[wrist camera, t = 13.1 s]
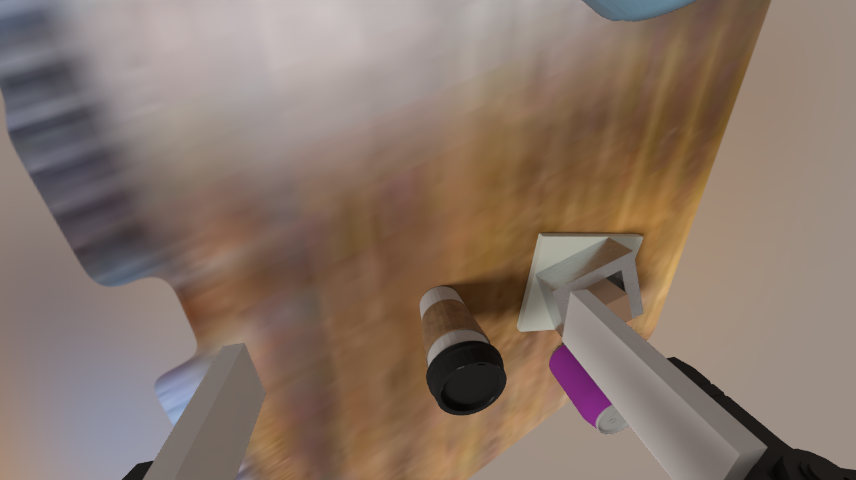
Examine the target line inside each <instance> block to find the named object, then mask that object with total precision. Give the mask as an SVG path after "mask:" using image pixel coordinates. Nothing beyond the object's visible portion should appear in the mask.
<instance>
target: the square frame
mask: <svg viewBox="0 0 856 480" xmlns="http://www.w3.org/2000/svg"><path fill="white" fill-rule="evenodd" d="M535 276H536V278H537V281H538V284H539V287H540V290H541V292H542V295H543V298H544V301H545V304H546V306H547V309H548V312H549V315H550V317H551V320H552V323H553V326H554V328H555V330H556V331H557V332H558V333H559V334H560V336H561V337H563V331H564V326H565V320H566V315H567V309H568V303H569V298H570V292H572V291H578V290H582V289H584V288H586V287H588V286H590V285H592V284H594V283H596V282H598V281H600V280H602V279H604V278H606V279H608V280H609V281H610V282H612V283H613V284H614V285H616V286H617V287H619V288H620V289H621V290H623V291H624V292H626V293H627V294H628V298H629V303H630V309H631V314H632V318H634V317H636V316H638V315H640V314H642V313H643V307H642V301H641V295H640V288H639V282H638V276H637V270H636V264H635V257H634V251H633V250H631V249H629V248H627V247H625V246H624V245H622V244H620V243H618V242H616V241H614V240H613V239H611V238H609V237H607V238H605V239H603V240H602V241H600V242H598V243H596V244H594V245H592V246H590V247H588V248H586V249H584V250H582V251H580V252H578V253H576V254H574V255H572V256H570V257H568V258H566V259H564V260H562V261H560V262H558V263H556V264H554V265H552V266H550V267H548V268H546V269H544V270H542V271H540V272H539V273H537V274H535Z"/></svg>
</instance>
